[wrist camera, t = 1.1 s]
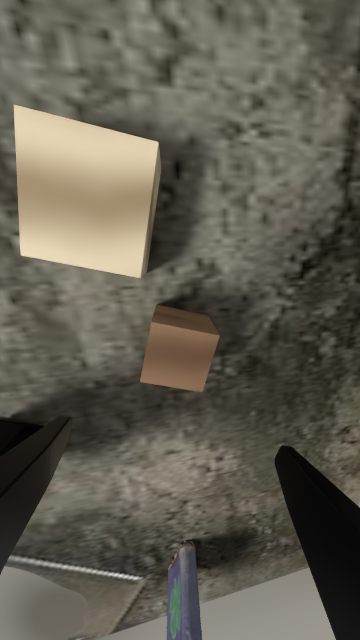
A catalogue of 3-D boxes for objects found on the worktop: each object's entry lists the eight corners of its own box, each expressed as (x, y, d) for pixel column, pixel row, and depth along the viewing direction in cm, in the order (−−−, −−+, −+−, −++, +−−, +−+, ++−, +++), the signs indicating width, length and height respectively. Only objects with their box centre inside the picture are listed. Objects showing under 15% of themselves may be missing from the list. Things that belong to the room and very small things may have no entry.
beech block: (147, 272, 18) (140, 277, 14) (53, 254, 17) (20, 255, 13) (161, 169, 16) (158, 142, 12) (54, 142, 15) (13, 104, 11)
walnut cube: (195, 360, 21) (202, 392, 16) (147, 351, 20) (139, 381, 16) (208, 315, 19) (219, 335, 15) (156, 304, 19) (151, 322, 14)
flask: (181, 539, 30) (187, 683, 20) (200, 541, 31) (214, 684, 20) (165, 572, 33) (162, 714, 23) (182, 573, 33) (187, 714, 23)
